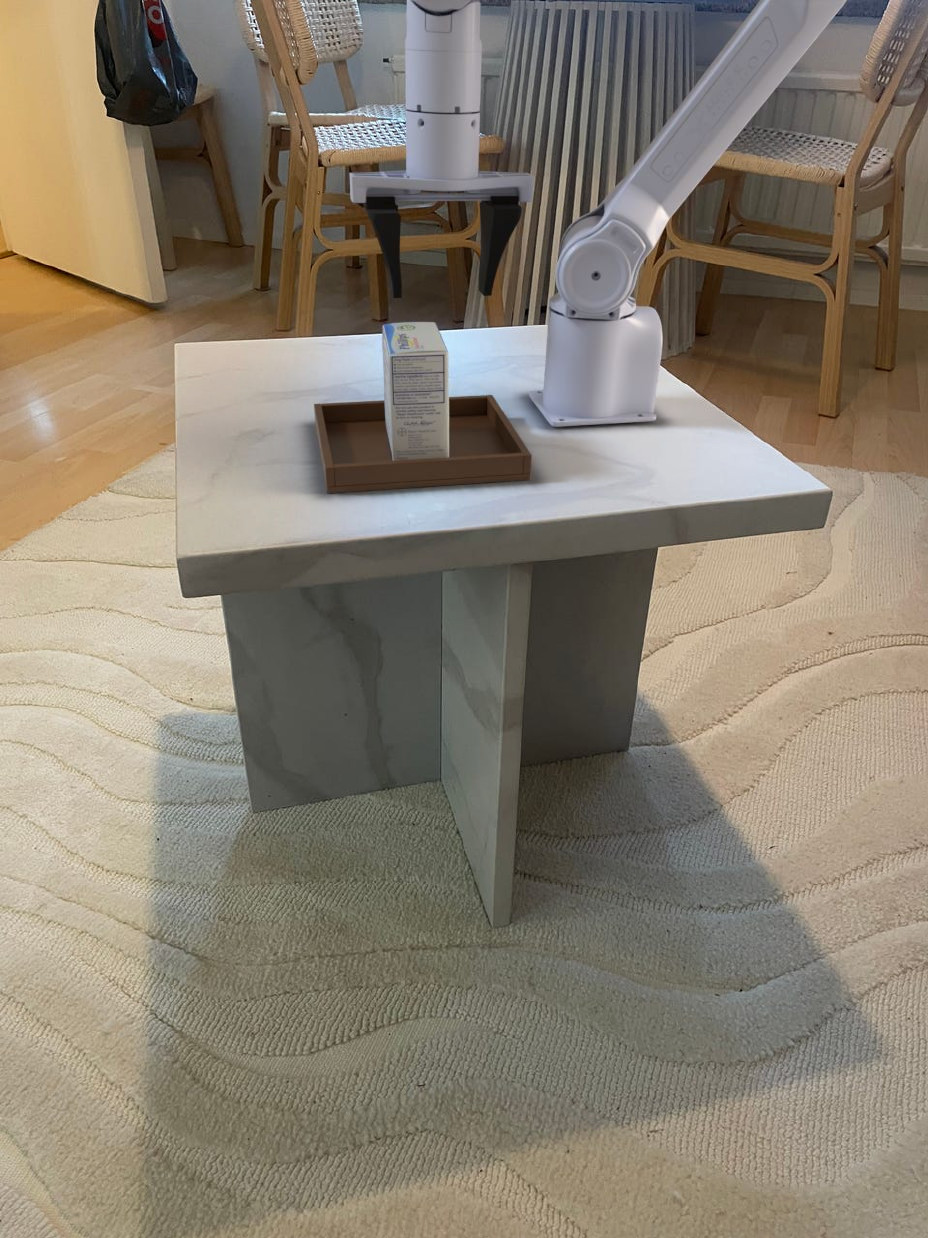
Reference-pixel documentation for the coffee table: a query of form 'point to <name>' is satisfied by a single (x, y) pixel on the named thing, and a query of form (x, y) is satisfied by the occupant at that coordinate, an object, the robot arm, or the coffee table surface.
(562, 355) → the robot arm
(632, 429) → the coffee table surface
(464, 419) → the tray
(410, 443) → the medicine box
